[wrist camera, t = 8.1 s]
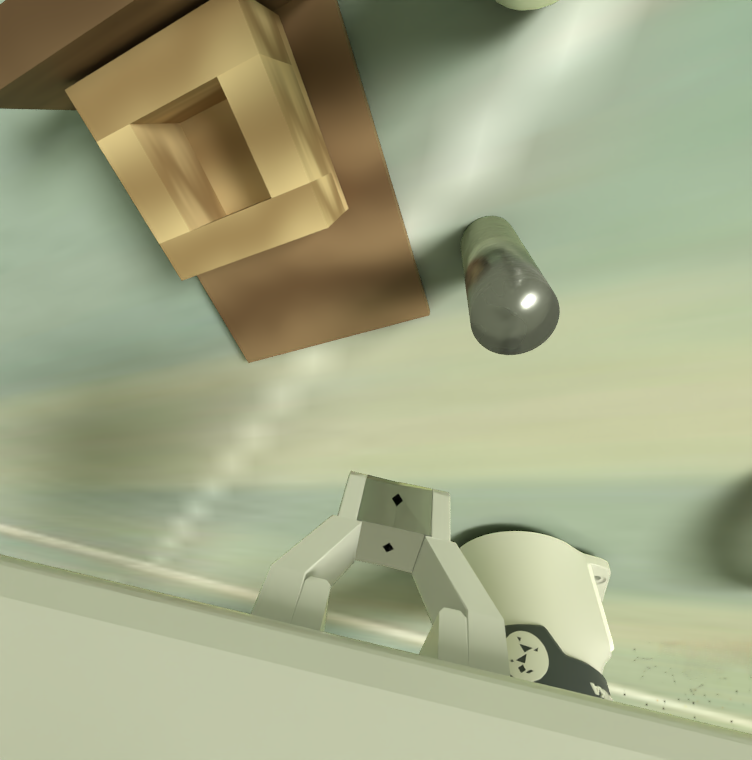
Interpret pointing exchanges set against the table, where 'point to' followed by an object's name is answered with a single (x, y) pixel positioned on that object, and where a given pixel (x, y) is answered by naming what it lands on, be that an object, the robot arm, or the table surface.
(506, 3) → the plastic bottle
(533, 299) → the dowel
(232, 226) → the tan square frame
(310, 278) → the jig
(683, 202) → the table surface
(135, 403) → the table surface
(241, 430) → the table surface
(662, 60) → the table surface
